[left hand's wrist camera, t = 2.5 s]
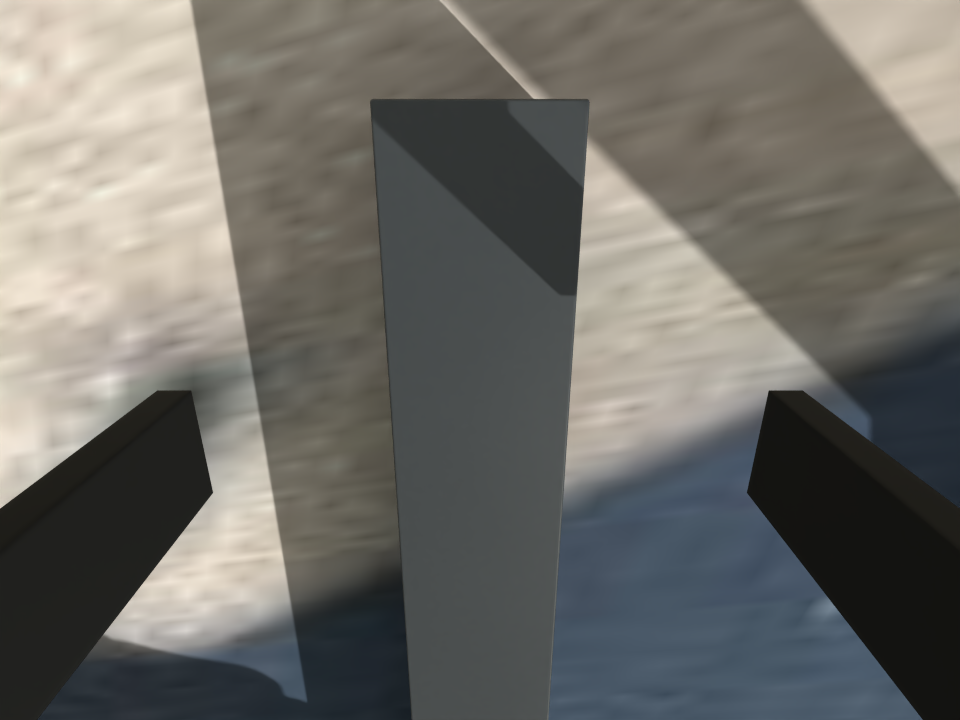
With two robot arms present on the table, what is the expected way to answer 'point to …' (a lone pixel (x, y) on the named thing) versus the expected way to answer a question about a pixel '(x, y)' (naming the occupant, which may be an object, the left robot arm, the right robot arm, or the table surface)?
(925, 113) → the table surface
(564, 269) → the bar
